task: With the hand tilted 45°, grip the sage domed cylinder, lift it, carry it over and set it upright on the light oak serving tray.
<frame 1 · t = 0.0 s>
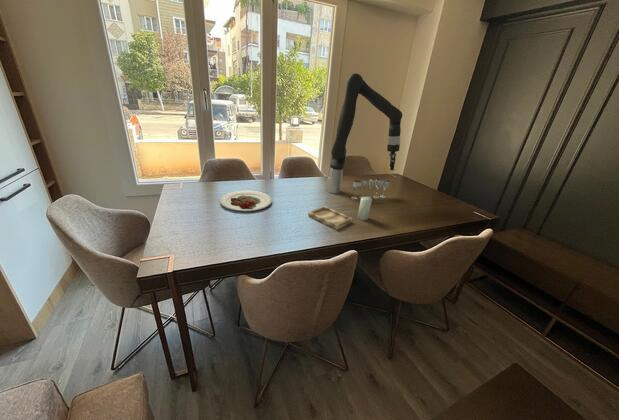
hand: (391, 168, 166), 22 cm above the table, tool pointing down, fingers open, 8 cm apart
tray: (329, 219, 141), on the table
plated food: (246, 202, 152), on the table
goblet set: (368, 197, 177), on the table
sage domed cylinder: (362, 217, 146), on the table
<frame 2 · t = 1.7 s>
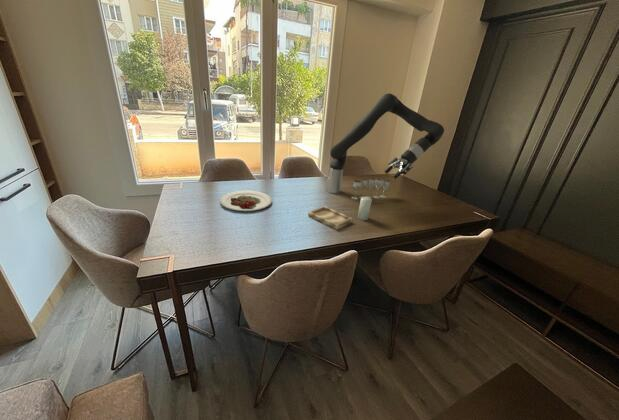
hand: (389, 174, 139), 26 cm above the table, tool tilted 45°, fingers open, 8 cm apart
nothing on the table moved.
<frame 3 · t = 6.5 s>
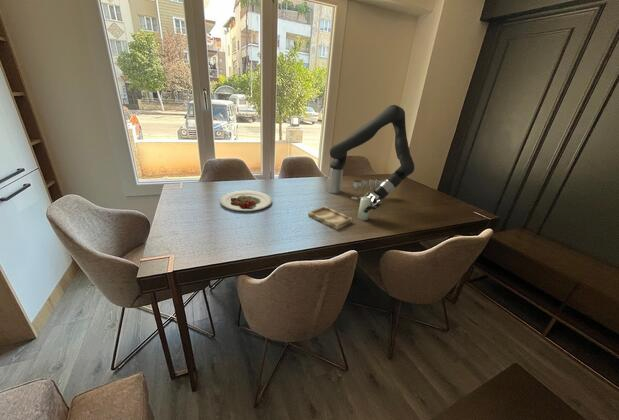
hand: (361, 209, 143), 6 cm above the table, tool tilted 45°, fingers closed on sage domed cylinder, 6 cm apart
sage domed cylinder: (362, 217, 146), on the table, touching gripper
everything else where it was.
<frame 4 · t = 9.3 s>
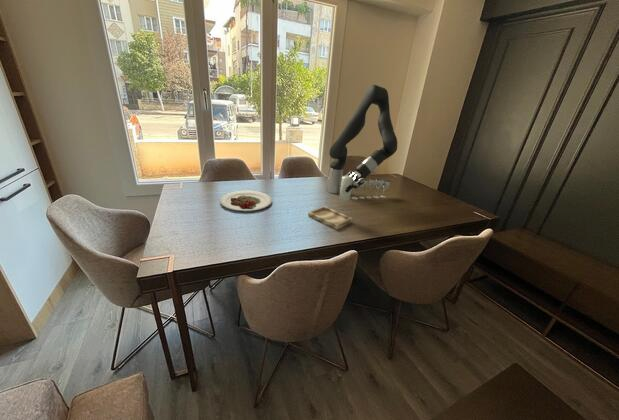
hand: (343, 189, 134), 18 cm above the table, tool tilted 45°, fingers closed on sage domed cylinder, 6 cm apart
sage domed cylinder: (344, 198, 137), point 12 cm above the table, touching gripper
everything else where it was.
when the fingers open (8 cm above the table, at t = 12.3 s): sage domed cylinder drops 1 cm, resting on tray.
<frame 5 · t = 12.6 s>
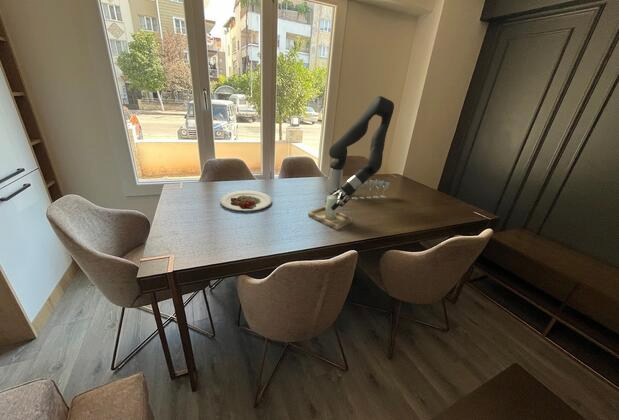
hand: (329, 205, 137), 8 cm above the table, tool tilted 45°, fingers open, 8 cm apart
sage domed cylinder: (330, 217, 140), point 1 cm above the table, touching tray
everything else where it was.
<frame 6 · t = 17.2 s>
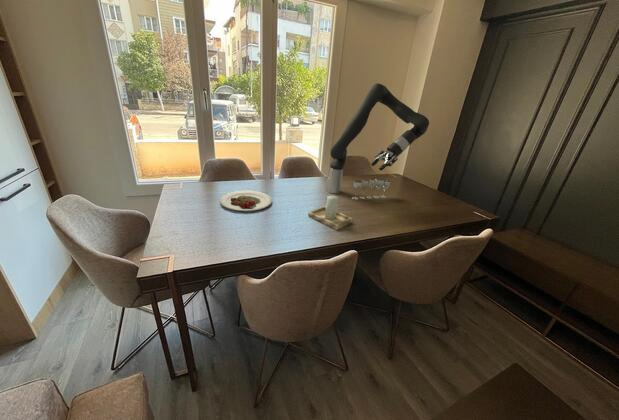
hand: (375, 167, 140), 29 cm above the table, tool tilted 45°, fingers open, 8 cm apart
nothing on the table moved.
at the end: sage domed cylinder inside the target area on the tray (0.1 cm from its centre), point 1.1 cm above the tray's base; sage domed cylinder tilted 1°; the gripper is holding nothing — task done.
